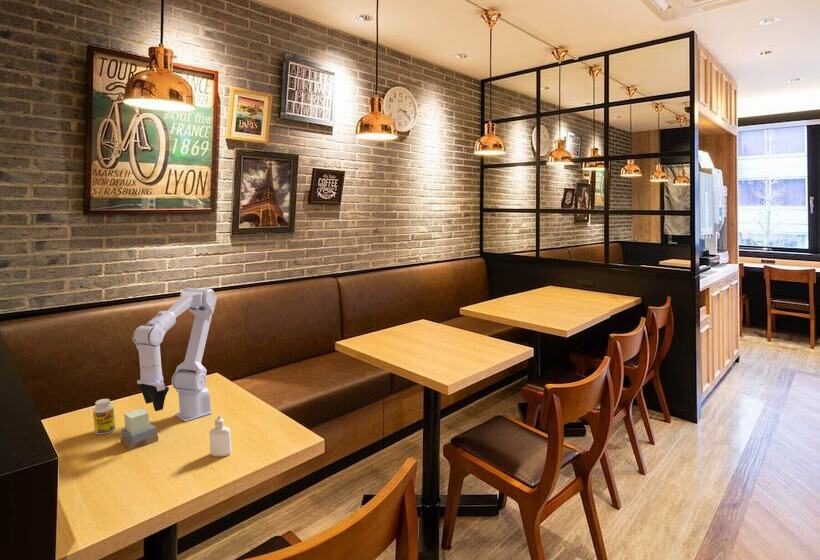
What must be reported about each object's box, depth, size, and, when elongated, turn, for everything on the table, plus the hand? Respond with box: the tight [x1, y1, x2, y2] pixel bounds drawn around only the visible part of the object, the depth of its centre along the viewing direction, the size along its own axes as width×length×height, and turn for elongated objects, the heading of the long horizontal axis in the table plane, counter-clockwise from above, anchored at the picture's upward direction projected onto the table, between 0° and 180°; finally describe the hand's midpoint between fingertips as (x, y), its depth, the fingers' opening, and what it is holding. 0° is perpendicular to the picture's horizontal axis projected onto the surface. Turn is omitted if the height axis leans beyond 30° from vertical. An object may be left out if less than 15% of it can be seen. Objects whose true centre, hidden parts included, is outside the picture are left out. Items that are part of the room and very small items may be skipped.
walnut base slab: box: [119, 434, 159, 452], centre depth 150 cm, size 8×8×2 cm
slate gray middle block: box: [121, 422, 158, 444], centre depth 149 cm, size 7×7×2 cm
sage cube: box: [123, 407, 150, 434], centre depth 148 cm, size 5×5×5 cm
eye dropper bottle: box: [209, 414, 233, 458], centre depth 142 cm, size 4×6×12 cm
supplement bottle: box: [92, 398, 116, 436], centre depth 155 cm, size 6×6×10 cm
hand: (154, 406), depth 150 cm, fingers open, 7 cm apart
